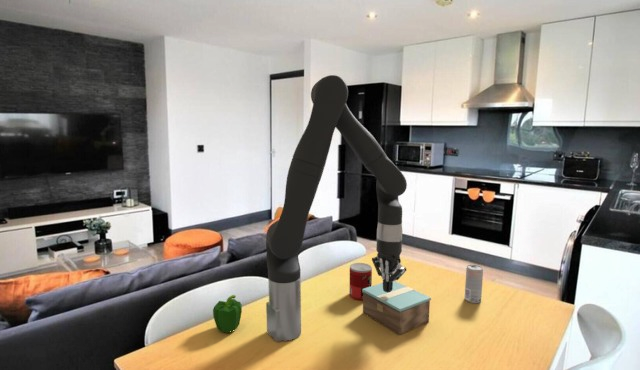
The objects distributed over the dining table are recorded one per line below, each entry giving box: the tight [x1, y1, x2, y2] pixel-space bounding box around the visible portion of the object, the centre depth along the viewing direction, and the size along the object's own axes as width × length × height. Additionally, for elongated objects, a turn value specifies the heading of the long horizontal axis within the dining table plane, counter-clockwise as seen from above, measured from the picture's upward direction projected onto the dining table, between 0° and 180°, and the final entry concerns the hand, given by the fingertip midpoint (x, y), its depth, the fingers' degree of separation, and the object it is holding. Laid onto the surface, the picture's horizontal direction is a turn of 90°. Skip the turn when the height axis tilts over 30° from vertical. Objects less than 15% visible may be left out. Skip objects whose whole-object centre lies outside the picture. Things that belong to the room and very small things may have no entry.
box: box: [362, 292, 431, 336], centre depth 116 cm, size 13×16×7 cm
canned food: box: [349, 262, 373, 301], centre depth 131 cm, size 8×8×11 cm
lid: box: [362, 280, 432, 312], centre depth 116 cm, size 14×16×1 cm
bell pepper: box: [212, 294, 243, 333], centre depth 110 cm, size 8×8×10 cm
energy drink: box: [464, 264, 484, 304], centre depth 128 cm, size 5×5×12 cm
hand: (387, 291), depth 113 cm, fingers closed
